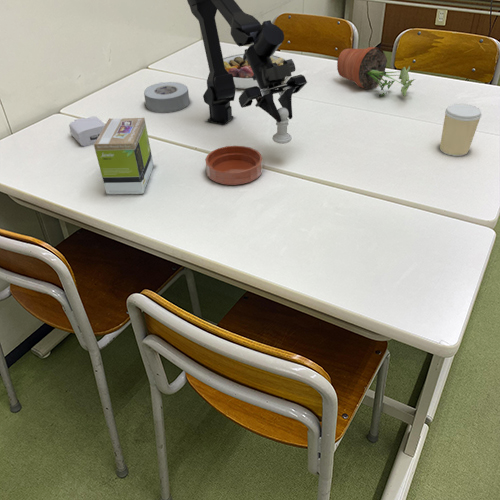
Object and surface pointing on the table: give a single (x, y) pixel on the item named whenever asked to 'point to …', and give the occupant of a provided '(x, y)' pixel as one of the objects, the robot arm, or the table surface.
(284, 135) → the chess piece
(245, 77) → the bowl
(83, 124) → the charger
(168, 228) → the table surface
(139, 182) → the tea box
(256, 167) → the bowl
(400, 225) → the table surface
